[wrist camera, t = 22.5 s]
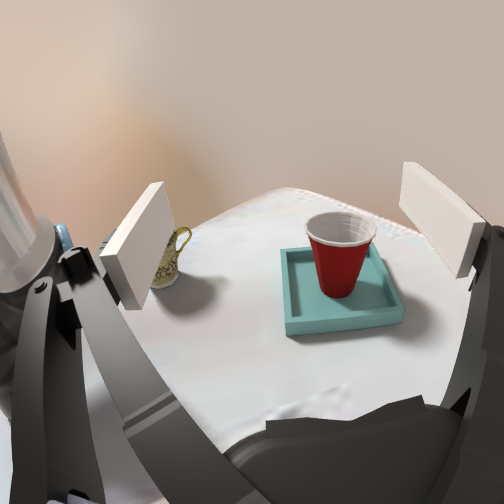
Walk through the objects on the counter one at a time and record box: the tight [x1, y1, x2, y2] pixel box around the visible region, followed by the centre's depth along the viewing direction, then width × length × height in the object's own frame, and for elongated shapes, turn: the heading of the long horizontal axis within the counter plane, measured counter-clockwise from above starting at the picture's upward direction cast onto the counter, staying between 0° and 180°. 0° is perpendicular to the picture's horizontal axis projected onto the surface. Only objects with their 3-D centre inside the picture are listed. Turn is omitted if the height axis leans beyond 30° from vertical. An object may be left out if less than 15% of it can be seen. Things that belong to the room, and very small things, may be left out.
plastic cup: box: [304, 211, 377, 299], centre depth 44 cm, size 11×11×12 cm
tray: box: [280, 242, 405, 336], centre depth 47 cm, size 18×18×3 cm
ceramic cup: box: [150, 227, 192, 289], centre depth 54 cm, size 13×10×10 cm
